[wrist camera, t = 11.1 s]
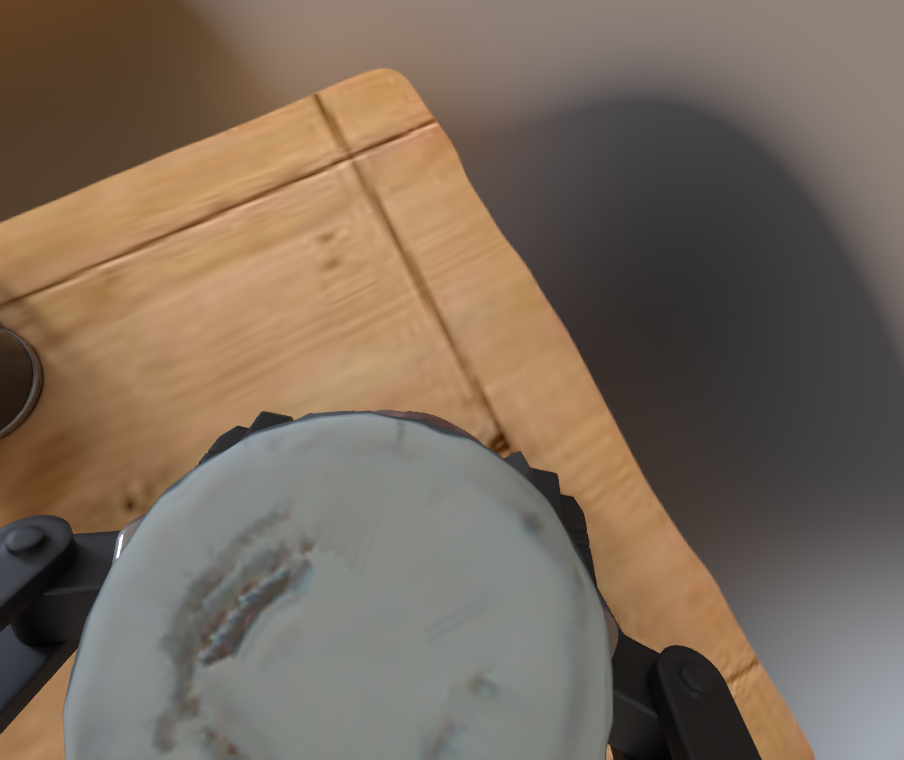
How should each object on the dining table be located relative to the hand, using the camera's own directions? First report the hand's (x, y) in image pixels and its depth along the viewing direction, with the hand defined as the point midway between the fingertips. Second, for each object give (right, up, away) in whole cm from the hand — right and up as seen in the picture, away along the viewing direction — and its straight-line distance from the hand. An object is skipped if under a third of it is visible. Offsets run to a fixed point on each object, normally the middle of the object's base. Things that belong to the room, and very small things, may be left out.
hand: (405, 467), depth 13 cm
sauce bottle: (-1, -4, +10) cm, 11 cm away
